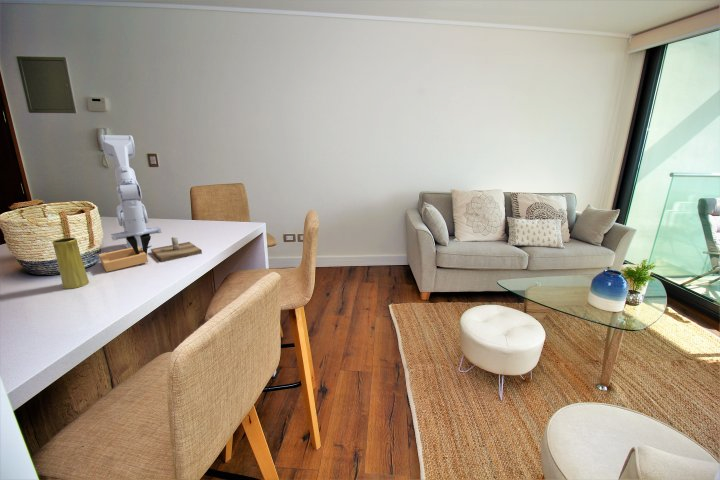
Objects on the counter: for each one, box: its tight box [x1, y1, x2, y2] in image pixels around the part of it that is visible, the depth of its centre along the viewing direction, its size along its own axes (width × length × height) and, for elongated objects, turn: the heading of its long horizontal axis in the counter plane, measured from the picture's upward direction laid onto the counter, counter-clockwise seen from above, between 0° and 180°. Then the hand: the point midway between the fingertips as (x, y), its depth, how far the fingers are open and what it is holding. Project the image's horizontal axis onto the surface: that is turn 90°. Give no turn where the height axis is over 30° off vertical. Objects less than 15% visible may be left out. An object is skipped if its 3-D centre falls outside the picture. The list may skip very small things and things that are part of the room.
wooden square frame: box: [98, 246, 149, 273], centre depth 113 cm, size 12×12×3 cm
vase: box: [52, 237, 90, 290], centre depth 95 cm, size 6×6×14 cm
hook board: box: [150, 236, 203, 263], centre depth 124 cm, size 14×14×6 cm
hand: (141, 255), depth 115 cm, fingers closed on wooden square frame, 2 cm apart
